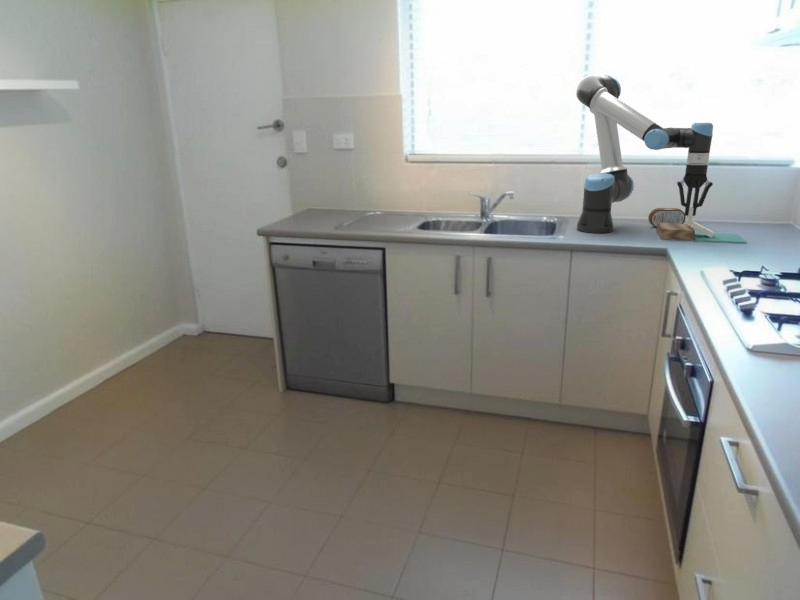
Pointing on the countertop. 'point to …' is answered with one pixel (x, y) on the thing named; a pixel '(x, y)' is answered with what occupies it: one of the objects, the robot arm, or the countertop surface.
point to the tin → (666, 216)
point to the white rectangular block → (701, 229)
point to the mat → (719, 238)
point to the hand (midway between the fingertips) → (688, 223)
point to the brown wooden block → (675, 231)
